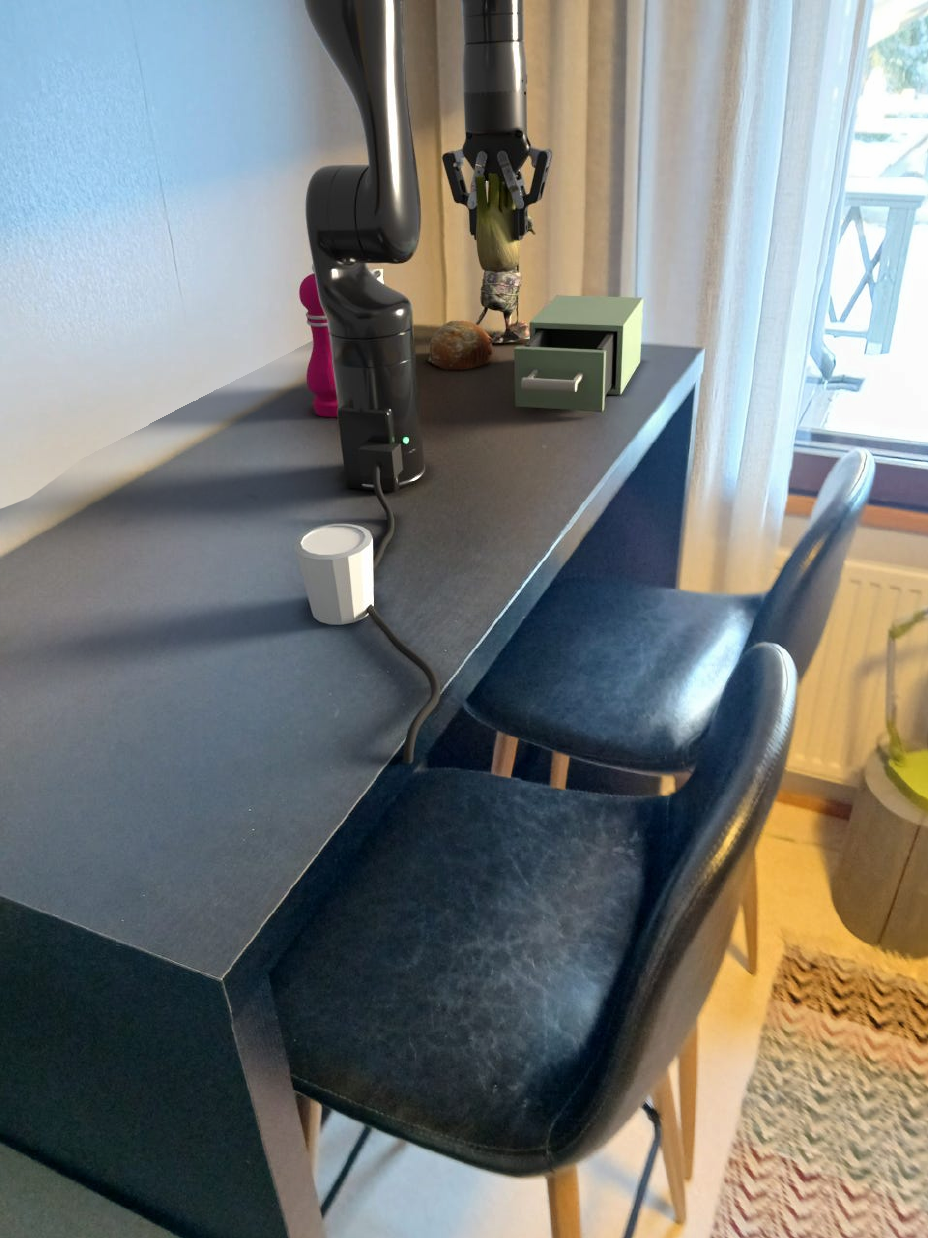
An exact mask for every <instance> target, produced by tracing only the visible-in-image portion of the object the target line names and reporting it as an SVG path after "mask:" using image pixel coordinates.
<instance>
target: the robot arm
mask: <svg viewBox="0 0 928 1238" xmlns="http://www.w3.org/2000/svg"><path fill="white" fill-rule="evenodd" d="M302 2H303V6H304V10H305V12H306V15H307V18H308V20H309V23H310V25H311V27H312V29H313V31H314V33H315V35H316V37H317V38H318V40H319V42H320V43H321V44H320V45H321V46H322V48H323V49H324V51H325V52H326V54H327V55H328V58H329V59H330V61H331V62H332V64H333V65H334V67H335V69H336V71H337V72H338V74H339V75H340V77H341V78H342V80H343V82H344V84H345V85H346V87H347V90H348V91H349V92H350V95H351V97H352V99H353V101H354V104H355V106H356V108H357V111H358V114H359V118H360V121H361V125H362V129H363V134H364V139H365V145H366V152H367V163H368V164H333V165H332V164H331V165H324V166H322V167H320V168H318V169H317V170H316V171H314V173H313V174H312V175H311V177H310V179H309V182H308V184H307V187H306V188H307V189H306V193H305V194H306V195H305V204H304V205H305V209H304V210H305V225H306V231H307V238H308V243H309V244H308V245H309V249H310V254H311V261H312V264H313V266H314V271H315V277H316V283H317V289H318V295H319V300H320V304H321V306H322V309H323V311H324V313H325V316H326V318H327V323H328V330H329V337H330V345H331V353H332V362H333V370H334V378H335V386H336V394H337V402H338V410H337V415H338V417H337V423H338V430H339V438H340V448H341V454H342V455H341V456H342V460H343V462H342V463H343V469H344V478H345V484H346V485H345V486H346V488H349V489H359V490H366V491H367V490H368V491H374V492H375V495H376V498H377V500H378V502H379V504H380V505H381V507H382V508H383V510H384V514H385V516H386V521H387V531H386V533H385V534H384V536H383V537H382V539H381V540H380V542H379V543H378V546H377V548H376V551H375V553H374V554H373V573H374V572H375V570H376V568H377V567H378V565H379V563H380V561H381V560H382V557H383V555H384V552H385V550H386V548H387V545H388V543H389V542H390V541H391V539H392V538H393V535H394V531H395V519H394V513H393V510H392V507H391V506H390V504H389V502H388V500H387V499H386V497H385V495H384V493H383V492H387V493H396V492H397V491H398V490H399V489H402V488H405V487H408V486H411V485H413V484H416V483H417V482H420V480H422V479H423V478H424V476H426V472H427V471H426V464H425V457H424V444H423V432H422V420H421V407H420V395H419V393H420V392H419V380H418V379H419V378H418V368H417V355H416V354H417V353H416V341H415V328H414V315H413V306H412V303H411V301H410V299H409V298H408V297H407V296H406V295H404V294H403V293H401V292H399V291H398V290H396V289H393V288H391V287H390V286H387V285H386V284H385V283H384V284H383V283H381V282H380V281H379V280H377V279H376V278H375V277H374V276H373V275H372V273H371V272H370V271H369V269H370V268H369V267H368V265H367V264H375V265H379V264H380V265H400V264H405V263H407V262H410V260H411V259H412V258H413V257H414V255H415V253H416V252H417V250H418V245H419V243H420V238H421V232H422V231H421V230H422V226H421V225H422V203H421V192H420V183H419V172H418V166H417V157H416V149H415V143H414V134H413V125H412V119H411V110H410V101H409V92H408V79H407V63H406V47H405V46H406V45H405V28H404V27H405V26H404V0H303V1H302ZM460 2H461V15H462V16H461V17H462V36H463V54H462V87H463V111H464V115H463V116H464V134H465V139H464V143H463V145H462V148H460V149H457V150H451V151H447V152H445V153H443V154H442V155H441V160H442V163H443V164H442V165H443V168H444V170H445V174H446V177H447V181H448V185H449V188H450V192H451V195H452V198H453V201H454V203H455V204H458V205H459V204H461V205H463V206H465V207H466V208H467V209H468V226H469V233H470V236H473V239H474V241H476V227H477V198H476V185H475V176H476V175H484V176H485V183H486V188H487V187H488V182H489V173H491V174H497V176H498V178H499V181H506V183H507V187H508V189H509V191H510V192H511V195H512V198H513V201H514V204H515V209H514V210H513V229H514V241H520V242H521V241H522V240H523V239H524V236H525V235H527V234H528V232H529V231H528V215H529V212H528V209H529V206H530V205H533V204H536V203H538V202H539V201H541V200H542V199H543V196H544V193H545V188H546V183H547V179H548V174H549V171H550V167H551V163H552V159H553V152H552V150H551V149H550V148H546V149H542V148H538V147H535V146H532V144H531V142H530V140H529V137H528V104H527V100H528V99H527V98H528V95H527V86H528V74H527V58H526V51H525V42H524V39H525V37H524V36H525V35H524V33H525V32H524V28H525V27H524V0H460ZM528 157H529V158H530V160H531V162H530V164H531V166H532V168H534V170H533V171H534V172H533V175H532V180H531V184H530V188H529V192H528V193H527V190H526V186H525V179H524V176H523V173H522V170H521V169H522V168H523V165H525V162H526V161H527V159H528ZM464 160H466V161H467V163H468V165H469V166H470V167H471V169H472V170H473V174H472V178H471V183H470V191H468V188H467V185H466V181H465V177H464V173H463V171H462V168H463V167H464V165H465V162H464ZM527 231H528V232H527ZM367 612H368V613H369V614H368V615H369V616H370V618H371V619H372V620H373V622H374V624H376V626H378V628H379V629H380V630H381V631H382V633H383V634H384V635H385V636H386V638H387V639H388V640H389V641H390V643H391V644H392V645H393V646H394V648H396V650H397V651H399V652H400V653H402V654H403V656H404V657H406V658H408V659H409V660H410V661H411V662H412V663H413V664H415V665H416V666H417V667H418V668H420V670H421V671H422V673H424V674H425V676H426V678H427V679H428V682H429V686H430V691H431V694H430V697H429V698H428V700H427V702H426V703H425V704H424V705H423V707H421V709H419V711H418V712H417V713H416V715H415V716H414V718H413V719H412V720H411V723H410V725H409V726H408V729H407V731H406V736H405V740H404V745H403V755H402V756H403V757H402V758H403V759H402V763H403V764H405V765H411V764H412V763H413V761H414V753H415V752H414V751H415V744H416V740H417V737H418V733H419V731H420V729H421V727H422V726H423V724H424V722H425V721H426V719H427V718H428V717H429V715H430V714H431V713H432V712H433V711H434V709H436V707H437V705H438V704H439V702H440V699H441V693H442V691H441V683H440V681H439V678H438V675H437V674H436V673H435V670H434V669H433V668H432V667H431V666H430V664H429V663H428V662H427V661H426V660H425V659H424V658H423V657H422V656H420V654H418V653H416V652H415V651H414V650H412V649H411V648H410V647H409V646H407V644H406V643H404V642H403V641H402V640H401V639H400V638H399V637H398V636H397V635H396V633H395V632H394V631H393V630H392V628H391V627H390V625H388V623H387V622H386V621H385V620H384V618H382V616H381V615H380V614H379V612H378V611H377V610H376V609H375V607H374V606H373V605H372V604H370V605H369V606H368V608H367Z"/></svg>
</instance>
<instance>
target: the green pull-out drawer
mask: <svg viewBox="0 0 928 1238" xmlns="http://www.w3.org/2000/svg"><path fill="white" fill-rule="evenodd" d="M617 332H618V331H596V330H571V329H545V328H541V329H540V330H539V331H538V332H537V333H536V334H535V335H534V336H533V337H532V338H531V339H528V341H527V342H526V343H525V344H524V346H523V345H521V346H520V345H519V346H518V345H516V346H515V347H514V348H513V353H514V354H513V355H514V399H515V401H514V404H515V405H514V406H515V407H522V408H534V409H535V408H536V409H538V408H539V409H549V410H551V409H553V410H567V411H583V412H598V413H603V412H604V410H605V397H606V396H607V395H608V394H607V393H608V391H609V389H610V388H611V386H612V385H613V383H614V381H615V380H616V357H617Z"/></svg>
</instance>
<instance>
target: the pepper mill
mask: <svg viewBox="0 0 928 1238" xmlns="http://www.w3.org/2000/svg"><path fill="white" fill-rule="evenodd" d="M311 270H312V272H313V273H311V274H308V275H307V276H305V278H304V279H302V281H301V282H300V285H299V288H298V289H299V290H298V296H299V300H300V304H301V305H302V306H303V307H304V308H305V309H306V310H307V311H306V312H305V317H306V324H307V325H309V326H310V329H311V330H310V331H311V334H312V351H311V355H310V359H309V361H308V365H307V369H306V385H307V387H308V388H307V389H309V390H310V391H311V393H313V394H314V395H315V396H314V397H313V400H312V403H313V404H312V405H313V409H314V410H313V411H314V413H315V414H316V415H317V416H320V417H324V418H338V415H337V410H338V402H337V394H336V386H335V378H334V370H333V362H332V353H331V345H330V337H329V330H328V323H327V318H326V316H325V313H324V311H323V309H322V306H321V304H320V300H319V295H318V289H317V283H316V277H315V271H314V266H313V263H312V265H311Z"/></svg>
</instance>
